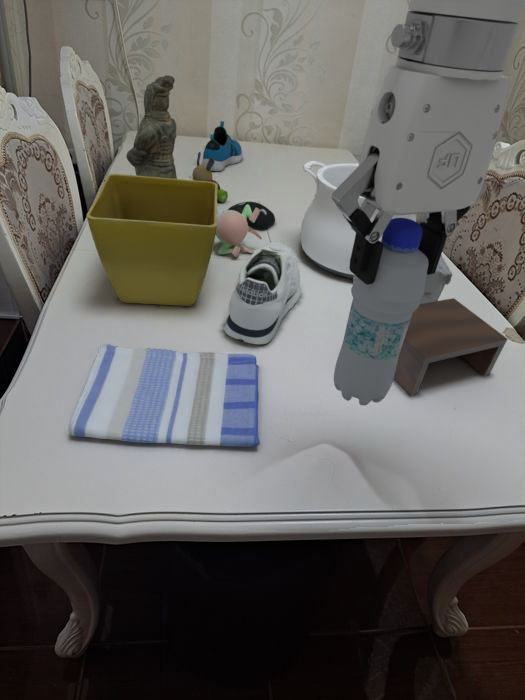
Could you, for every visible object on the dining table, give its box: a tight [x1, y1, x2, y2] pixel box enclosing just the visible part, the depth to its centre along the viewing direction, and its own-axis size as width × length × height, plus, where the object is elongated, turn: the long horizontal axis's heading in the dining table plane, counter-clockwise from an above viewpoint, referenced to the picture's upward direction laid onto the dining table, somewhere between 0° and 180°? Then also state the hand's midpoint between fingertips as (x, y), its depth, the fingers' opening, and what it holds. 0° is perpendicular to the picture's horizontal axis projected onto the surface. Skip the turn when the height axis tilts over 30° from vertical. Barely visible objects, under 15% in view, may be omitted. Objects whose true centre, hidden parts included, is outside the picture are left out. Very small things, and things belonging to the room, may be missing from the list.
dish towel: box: [68, 343, 260, 447], centre depth 65 cm, size 17×24×3 cm
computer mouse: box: [227, 201, 276, 231], centre depth 116 cm, size 8×12×4 cm, turn 62°
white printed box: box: [420, 254, 454, 304], centre depth 89 cm, size 10×8×10 cm
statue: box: [125, 74, 178, 179], centre depth 102 cm, size 11×9×30 cm
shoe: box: [201, 120, 243, 172], centre depth 148 cm, size 9×23×12 cm, turn 164°
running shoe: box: [223, 241, 301, 345], centre depth 85 cm, size 11×29×12 cm, turn 170°
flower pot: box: [86, 173, 218, 307], centre depth 84 cm, size 19×19×17 cm
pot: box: [299, 160, 417, 280], centre depth 101 cm, size 28×24×17 cm
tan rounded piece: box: [192, 151, 229, 203], centre depth 122 cm, size 9×9×11 cm
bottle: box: [333, 218, 428, 406], centre depth 48 cm, size 7×7×20 cm
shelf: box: [393, 297, 508, 397], centre depth 77 cm, size 12×16×7 cm
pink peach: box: [215, 204, 262, 258], centre depth 102 cm, size 12×10×9 cm
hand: (392, 271), depth 45 cm, fingers closed on bottle, 6 cm apart
